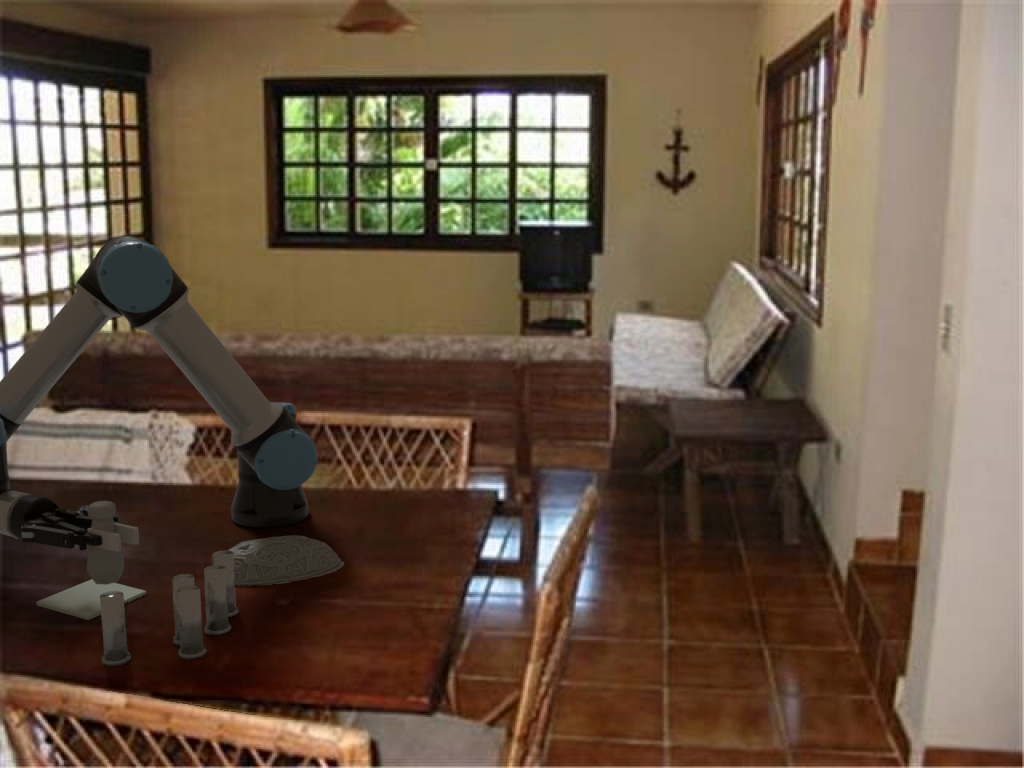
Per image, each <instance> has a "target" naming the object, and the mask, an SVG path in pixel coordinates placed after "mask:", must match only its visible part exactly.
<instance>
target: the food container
mask: <svg viewBox="0 0 1024 768" xmlns="http://www.w3.org/2000/svg"><path fill="white" fill-rule="evenodd" d="M227 551H232V552H233V558H234V577H235V585H243V586H242V587H254V586H253V585H260V586H273V585H272V584H276V585H280V584H287V583H291V582H296V581H302V580H308V579H311V578H317V577H322V576H325V574H326V575H328V574H329V575H330V574H331V573H334V572H336V571H338V570H340V569H341V568H342V567H343V566H344V565H345V562H344V561H343V560H341V558H340V557H339V556H338V553H336V552H335V551H334V550H333V549H332V547H330V545H328V544H327V543H326V542H323V541H320V540H318V539H315V538H311V537H307V536H304V535H294V534H293V535H284V536H282V535H281V536H270V537H265V538H258V539H252V540H247V541H241V542H239V543H238V544H236V545H235V546H233V547H230V548H229V549H228V550H227ZM337 569H338V570H337ZM245 585H246V586H245ZM247 585H248V586H247Z"/></svg>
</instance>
